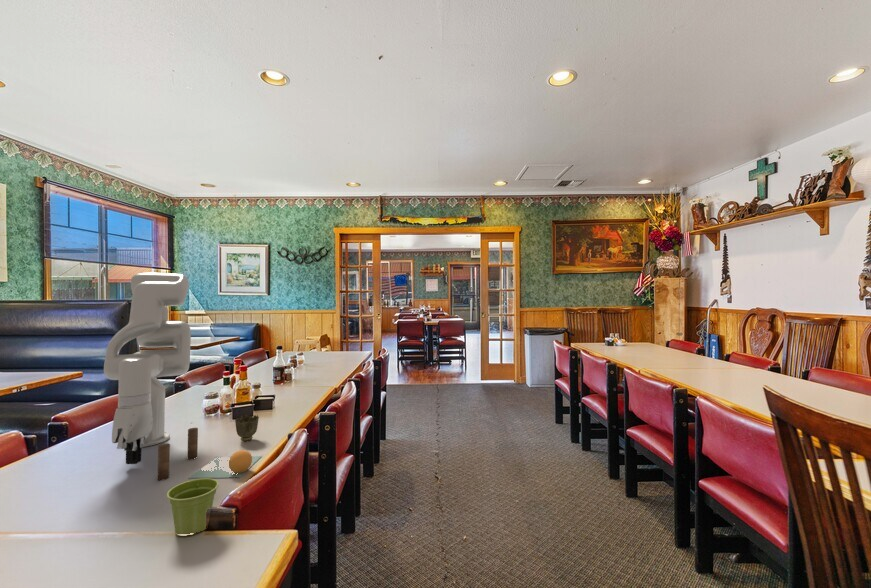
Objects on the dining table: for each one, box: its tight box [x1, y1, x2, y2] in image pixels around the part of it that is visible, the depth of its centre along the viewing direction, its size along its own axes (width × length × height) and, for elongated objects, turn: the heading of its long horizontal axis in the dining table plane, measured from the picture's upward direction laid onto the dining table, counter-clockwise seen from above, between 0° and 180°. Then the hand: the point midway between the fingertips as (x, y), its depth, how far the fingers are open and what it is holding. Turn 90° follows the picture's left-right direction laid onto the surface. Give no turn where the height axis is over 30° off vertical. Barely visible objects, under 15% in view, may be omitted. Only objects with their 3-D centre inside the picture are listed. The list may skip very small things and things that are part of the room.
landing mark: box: [188, 455, 263, 480], centre depth 110 cm, size 14×14×1 cm
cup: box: [234, 414, 260, 443], centre depth 131 cm, size 8×7×8 cm
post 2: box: [187, 427, 199, 460], centre depth 116 cm, size 3×3×9 cm
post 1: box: [157, 443, 171, 481], centre depth 103 cm, size 3×3×9 cm
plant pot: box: [166, 478, 220, 535], centre depth 80 cm, size 9×9×9 cm
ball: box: [229, 449, 252, 473], centre depth 107 cm, size 6×6×6 cm
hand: (133, 462), depth 109 cm, fingers closed
